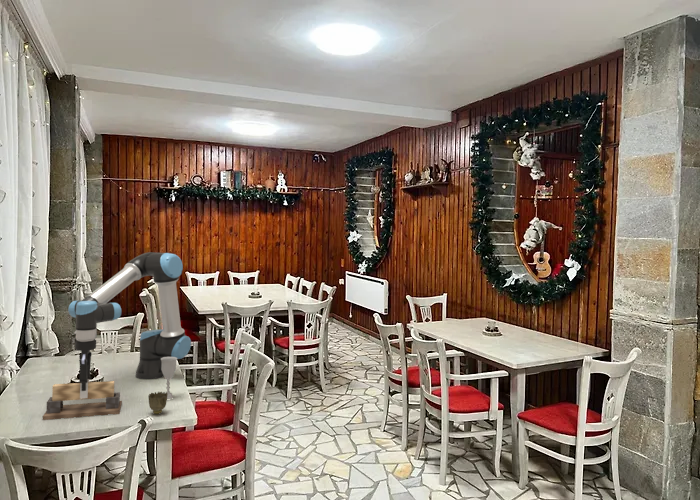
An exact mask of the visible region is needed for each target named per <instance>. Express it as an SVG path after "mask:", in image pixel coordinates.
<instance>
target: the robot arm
mask: <svg viewBox="0 0 700 500" xmlns="http://www.w3.org/2000/svg"><path fill="white" fill-rule="evenodd" d="M182 261H183V260H182V259H181V258H180V257H179V256H178V255H177V254H175V253H171V252H154V251H153V252H151V251H147V252H145V253H142V254H139V255H137V256H136V257H134V258H132V259H131V260H129V261H128V262H127V263H126V264H125V265H124V267H123V268H122V269H121V270H120V271H118V272H117V273H116V274H114V275H113V276H112V277H111V278H109V279H108V280H107V281H105V282H104V283H103V284H102V285H100V286H99V287H97V288H96V289H95V290H94V291H92V292H91V293H89V294H88V295H87V296H86V297H84V298H82V299H81V300H79V299H78V300H73V301H71V303H70V304H69V305H68V309H67V311H68V314H69V316H71V317H72V318H75V331H74V332H73V334H74V335H75V341H74V342H75V343H74V350H76V351H78V352H79V351H80V354H78V355H79V357H78V359H79V380H78V382H77V383H80V399H83V400H86V399H85V398H88V382H90V380H92V376H91V362H92V354H93V353H92V352H91V351H92V350H95V349H96V348H97V339H96V338H97V332H98V331H97V326H98V324H100V323H105V322H112V321H115V320H118V319H119V318H120V317H121V316H122V308H121V305H120V304H119V303H118V302H110V301H111V300H112V299H114V297H116V296H117V295H118V294H120V293H121V292H122V291H123V290H125V289H126V288H127V287H128V286H130V285H131V284H132V283H134V281H139V280H141V278H144V277H152V278H153V283H155V284H156V285H157V291H158V299H159V307H160V308H159V309H160V315H161V316H160V317H161V325H162V328H161V329H152V330H146V331H142V332H141V333H140V336H139V337H140V339H139V362H138V364H137V367H136V369H135V378H137V379H142V380H152V379H153V380H154V379H160V378H163V377H164V375H163V373H162V370H161V367H162V361H161V358H163V357H176V358H177V360H179V359H180V360H181V359H183V358H185V357H186V356H187V355H188V353H189V351H190V349H191V347H192V340H191V338H190V337H189V336H187V335H186V333H185V332H186V331H185V329H184V328H182V326H181V324H182V323H181V317H180V316H181V315H180V305H179V298H178V289H177V288H178V286H177V282H178V281H179V279H180V276H181V275H182V274H183V267H184V266H183V262H182ZM164 378H165V377H164Z"/></svg>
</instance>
